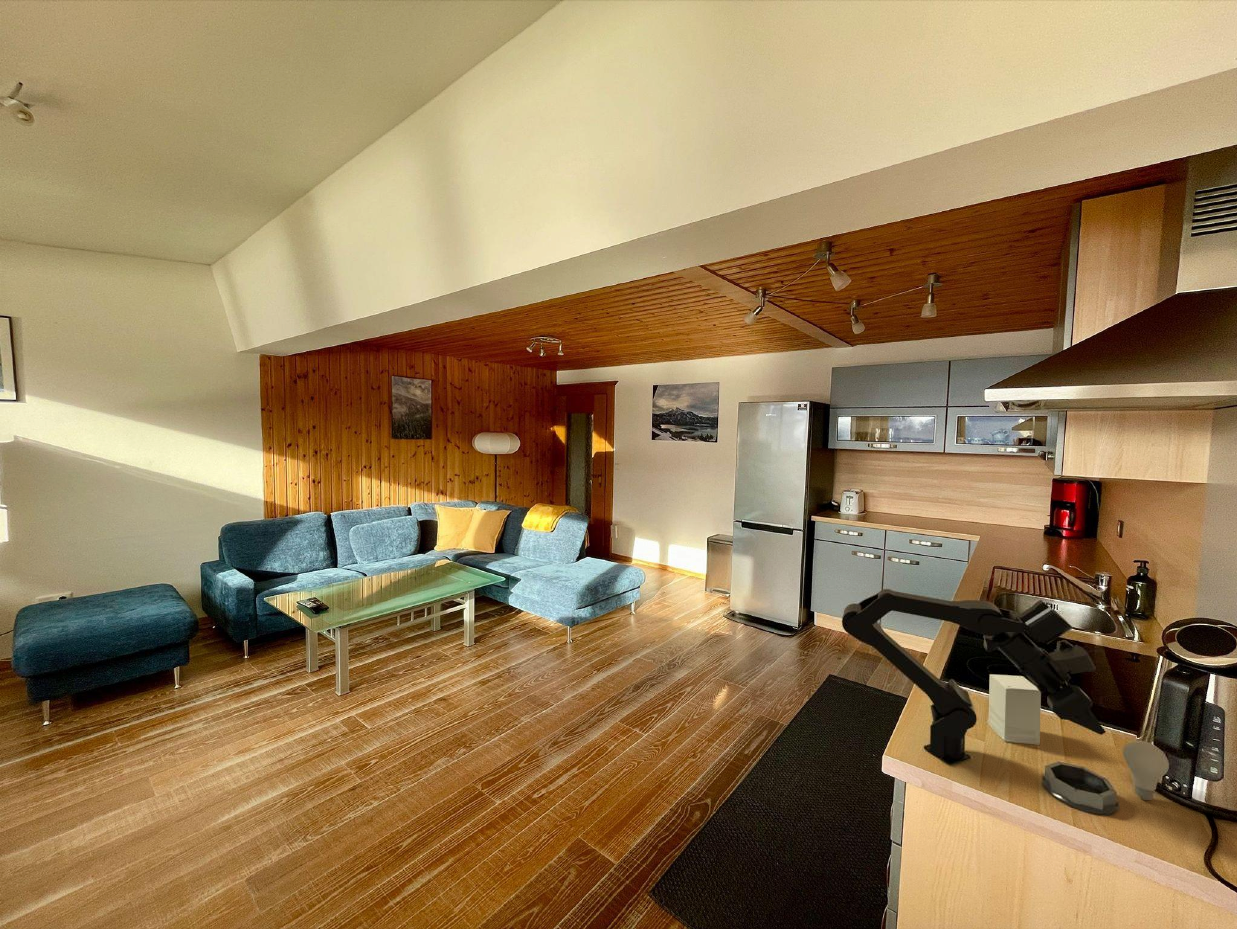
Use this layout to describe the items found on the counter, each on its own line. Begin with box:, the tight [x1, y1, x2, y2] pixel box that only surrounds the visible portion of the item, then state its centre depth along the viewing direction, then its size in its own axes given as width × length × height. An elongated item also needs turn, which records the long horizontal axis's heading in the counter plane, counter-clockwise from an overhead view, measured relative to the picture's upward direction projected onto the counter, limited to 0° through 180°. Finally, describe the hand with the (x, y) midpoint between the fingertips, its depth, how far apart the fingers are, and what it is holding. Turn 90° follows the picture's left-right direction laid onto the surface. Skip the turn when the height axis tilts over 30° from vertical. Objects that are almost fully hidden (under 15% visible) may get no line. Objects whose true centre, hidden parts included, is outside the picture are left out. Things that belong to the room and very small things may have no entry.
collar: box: [1041, 761, 1119, 816], centre depth 99 cm, size 11×11×3 cm
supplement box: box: [988, 673, 1042, 746], centre depth 119 cm, size 7×7×13 cm
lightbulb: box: [1122, 740, 1170, 801], centre depth 98 cm, size 6×6×11 cm
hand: (1094, 720), depth 101 cm, fingers open, 9 cm apart
